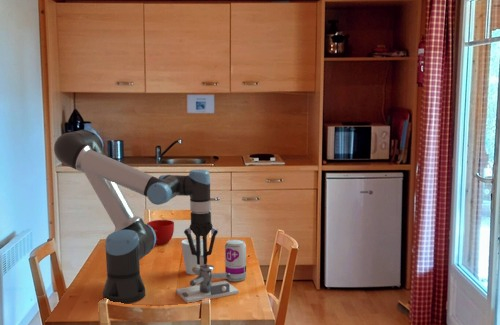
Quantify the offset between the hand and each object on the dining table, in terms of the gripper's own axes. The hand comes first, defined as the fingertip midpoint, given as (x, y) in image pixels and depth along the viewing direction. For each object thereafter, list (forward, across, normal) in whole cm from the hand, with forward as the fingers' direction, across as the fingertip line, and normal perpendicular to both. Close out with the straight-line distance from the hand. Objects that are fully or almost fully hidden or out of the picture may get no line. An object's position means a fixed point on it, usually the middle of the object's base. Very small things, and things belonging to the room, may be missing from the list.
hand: (202, 272), depth 214 cm
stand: (+6, -2, +5) cm, 8 cm away
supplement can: (+6, -12, -11) cm, 17 cm away
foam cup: (+6, +6, -18) cm, 20 cm away
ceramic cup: (+6, +29, -57) cm, 64 cm away
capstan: (+4, -1, +5) cm, 7 cm away
